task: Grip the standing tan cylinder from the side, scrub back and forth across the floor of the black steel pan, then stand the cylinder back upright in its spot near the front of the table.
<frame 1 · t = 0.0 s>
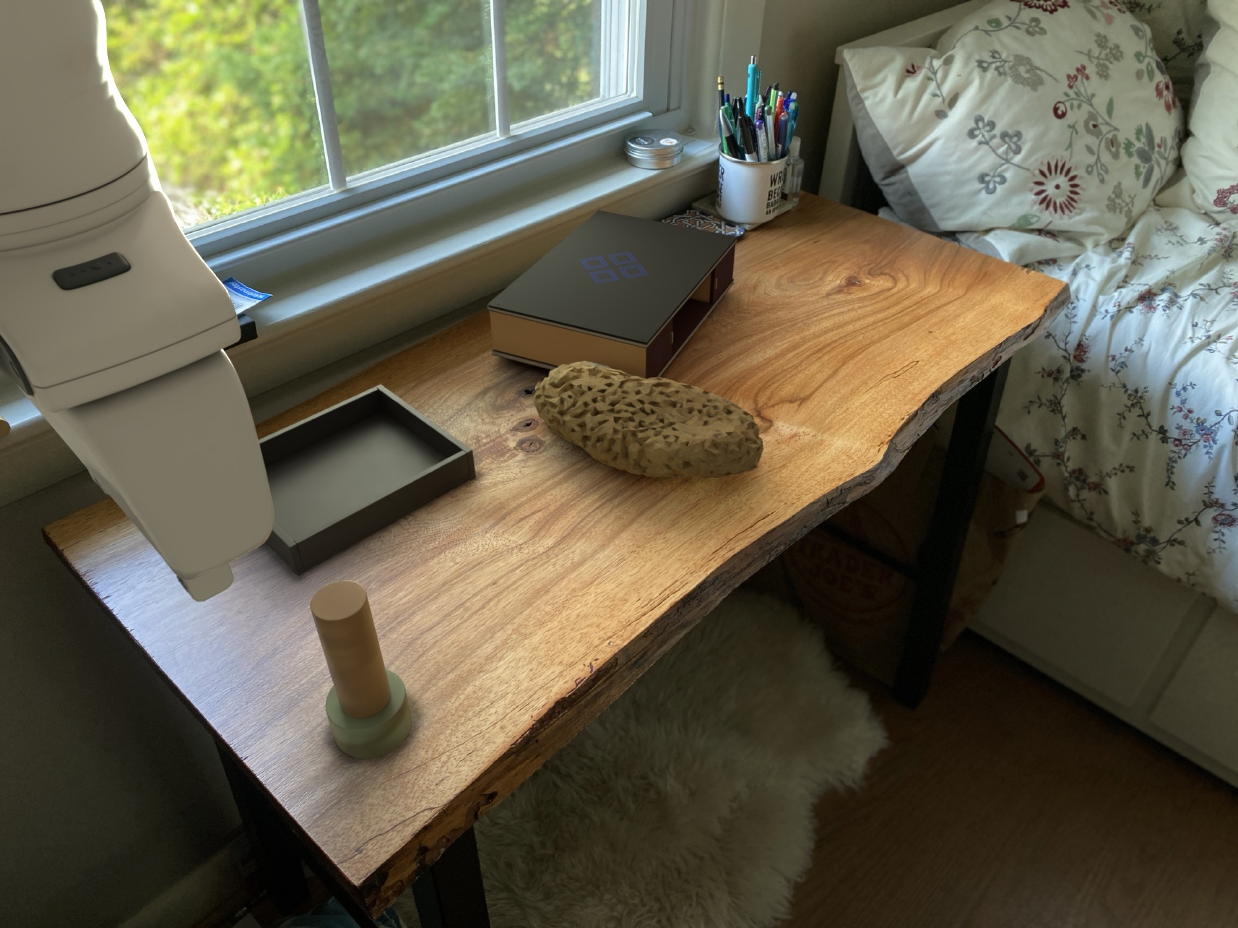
hand: (161, 531, 42), 23 cm above the table, tool pointing down, fingers open, 8 cm apart
pan: (346, 484, 81), on the table
tan cylinder: (373, 725, 61), on the table
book: (620, 325, 102), on the table
sponge: (648, 452, 84), on the table
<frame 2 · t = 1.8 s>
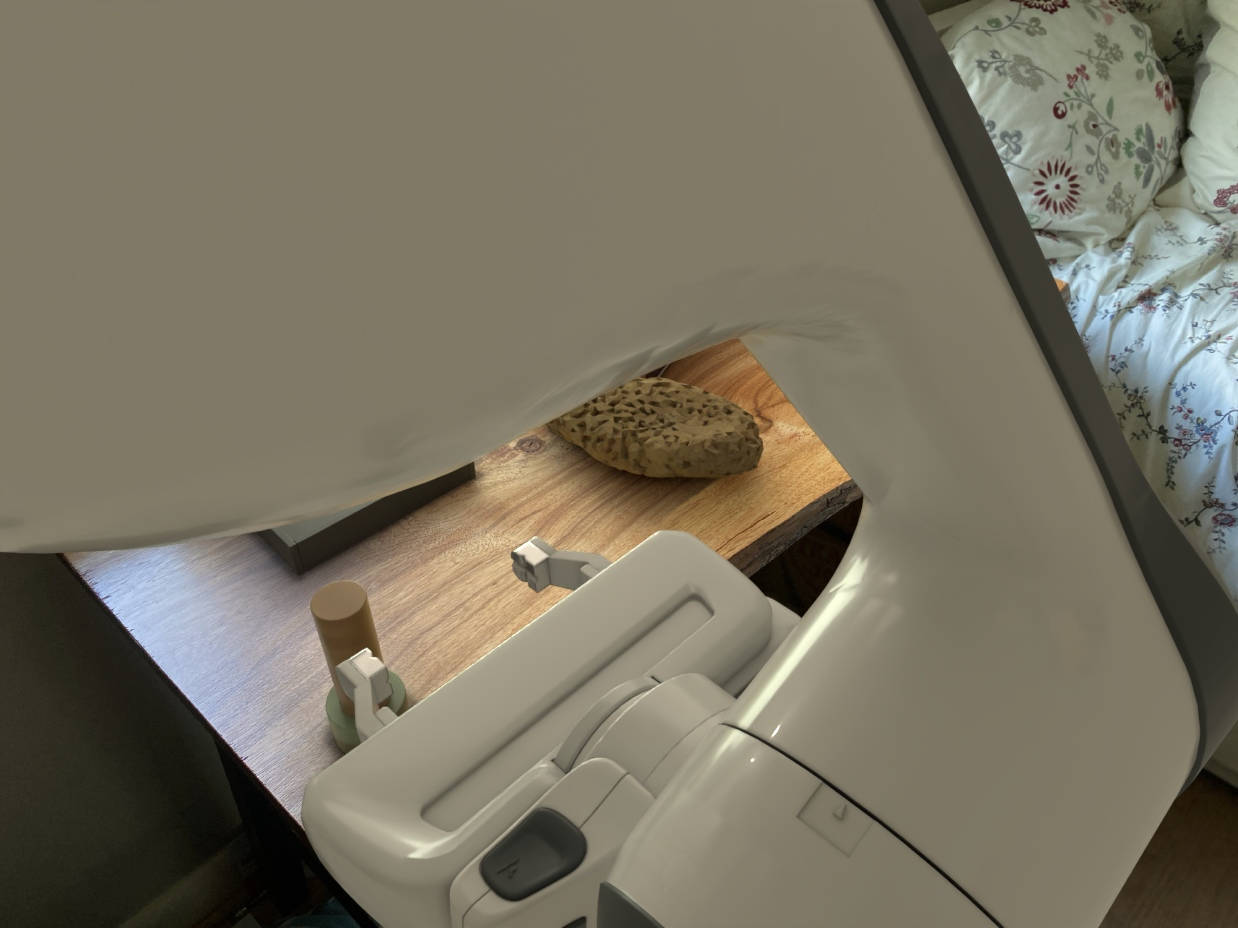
hand: (442, 606, 42), 20 cm above the table, tool horizontal, fingers open, 8 cm apart
nothing on the table moved.
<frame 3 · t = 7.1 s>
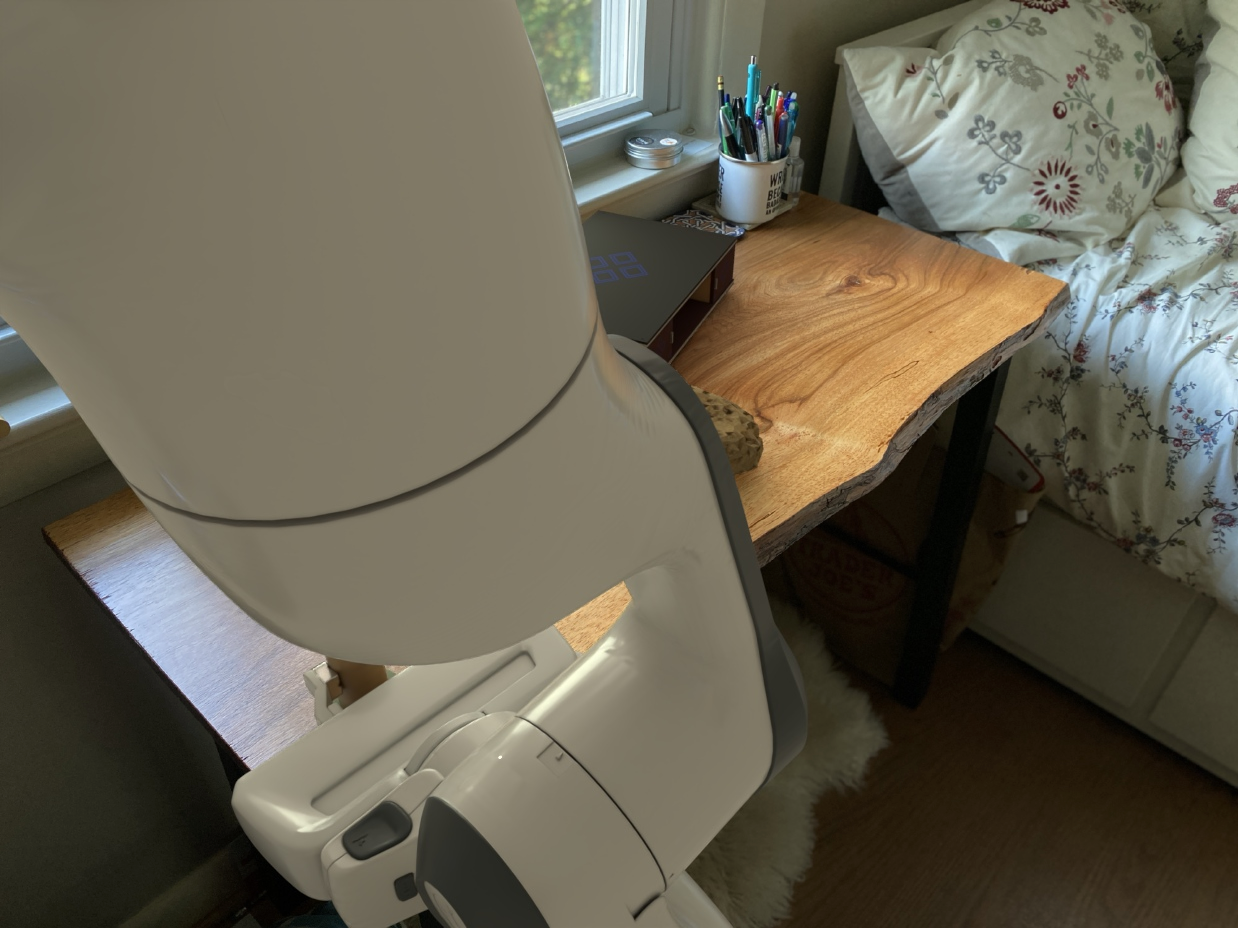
hand: (347, 653, 58), 7 cm above the table, tool horizontal, fingers closed on tan cylinder, 3 cm apart
tan cylinder: (373, 725, 61), on the table, touching gripper
everything else where it was.
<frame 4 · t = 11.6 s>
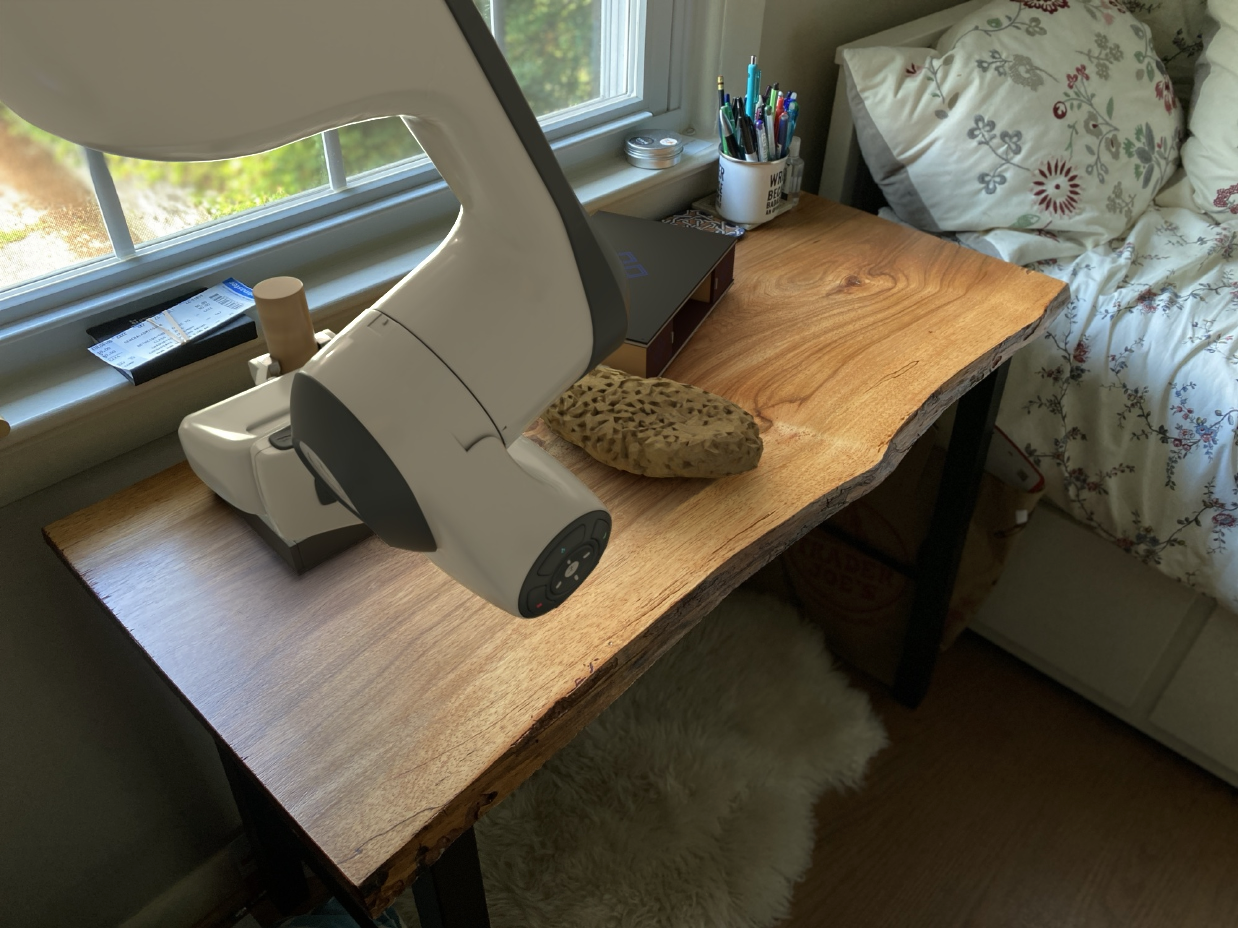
hand: (289, 353, 65), 17 cm above the table, tool horizontal, fingers closed on tan cylinder, 3 cm apart
tan cylinder: (316, 434, 69), point 11 cm above the table, touching gripper
everything else where it was.
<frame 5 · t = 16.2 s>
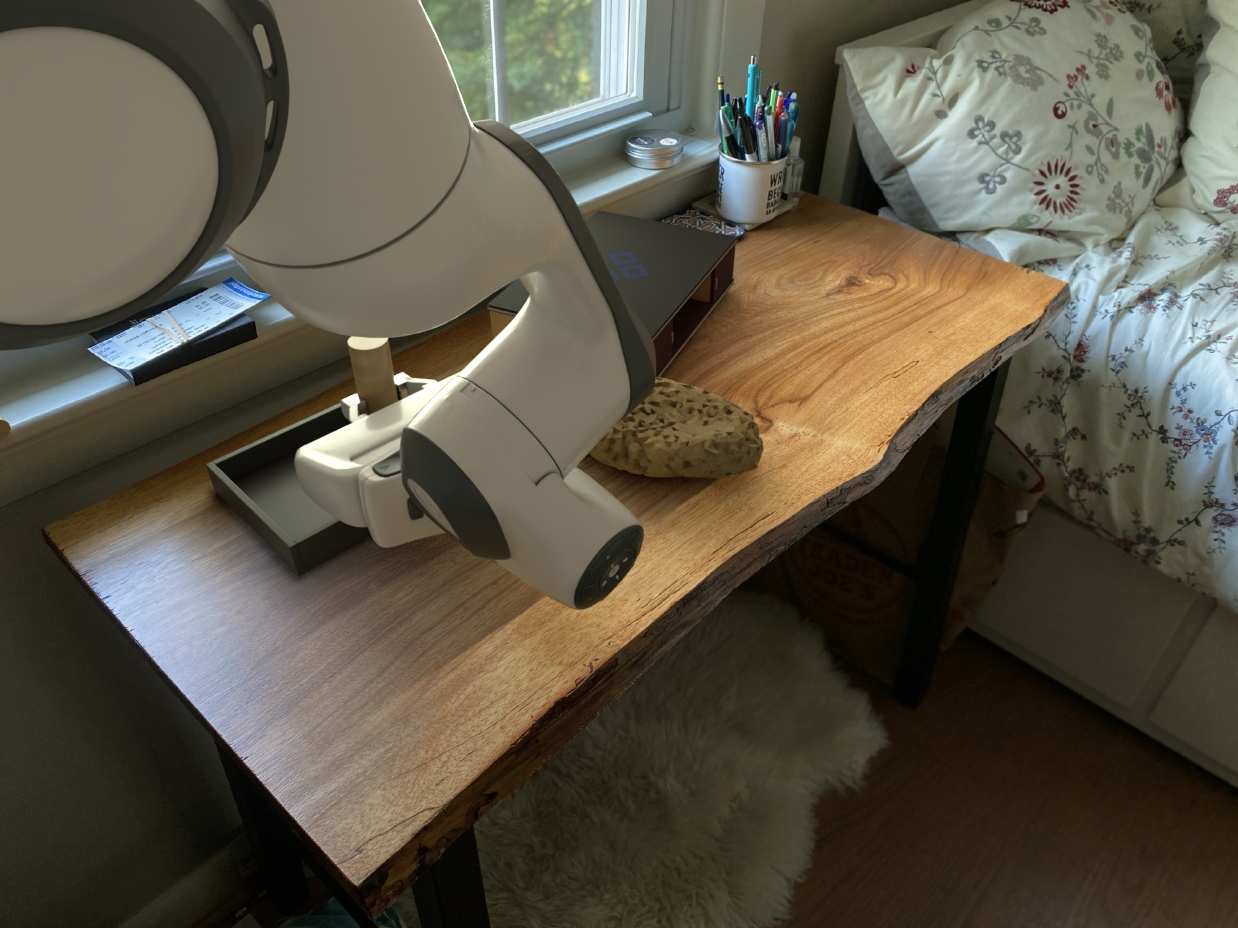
hand: (371, 393, 79), 7 cm above the table, tool horizontal, fingers closed on tan cylinder, 3 cm apart
tan cylinder: (389, 458, 82), point 1 cm above the table, touching gripper
everything else where it was.
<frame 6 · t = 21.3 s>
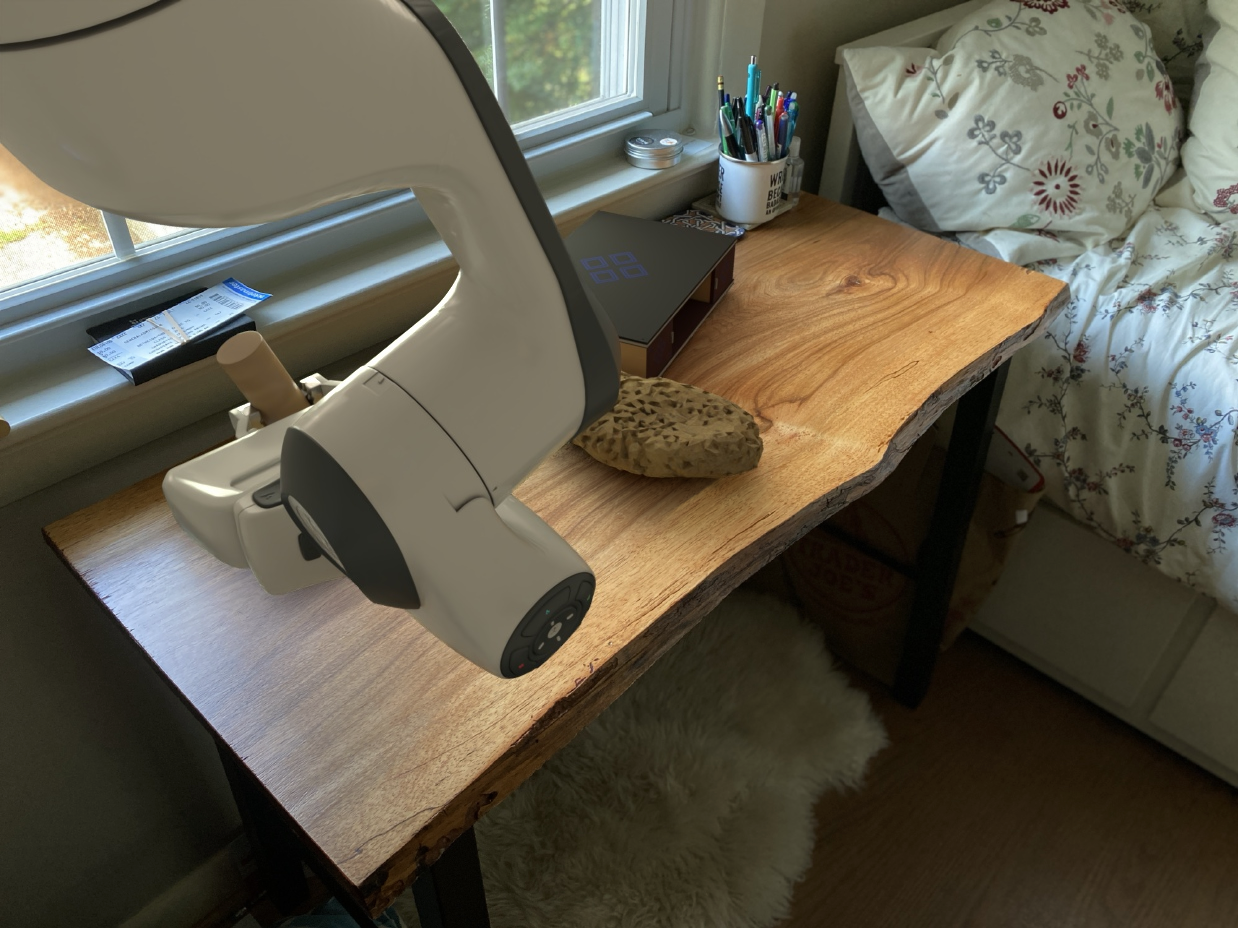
hand: (274, 400, 65), 15 cm above the table, tool horizontal, fingers closed on tan cylinder, 4 cm apart
tan cylinder: (327, 466, 69), point 8 cm above the table, tilted 17°, touching gripper
everything else where it was.
when the fingers open (7 cm above the table, at t = 25.7 s): tan cylinder stays where it is, on the table.
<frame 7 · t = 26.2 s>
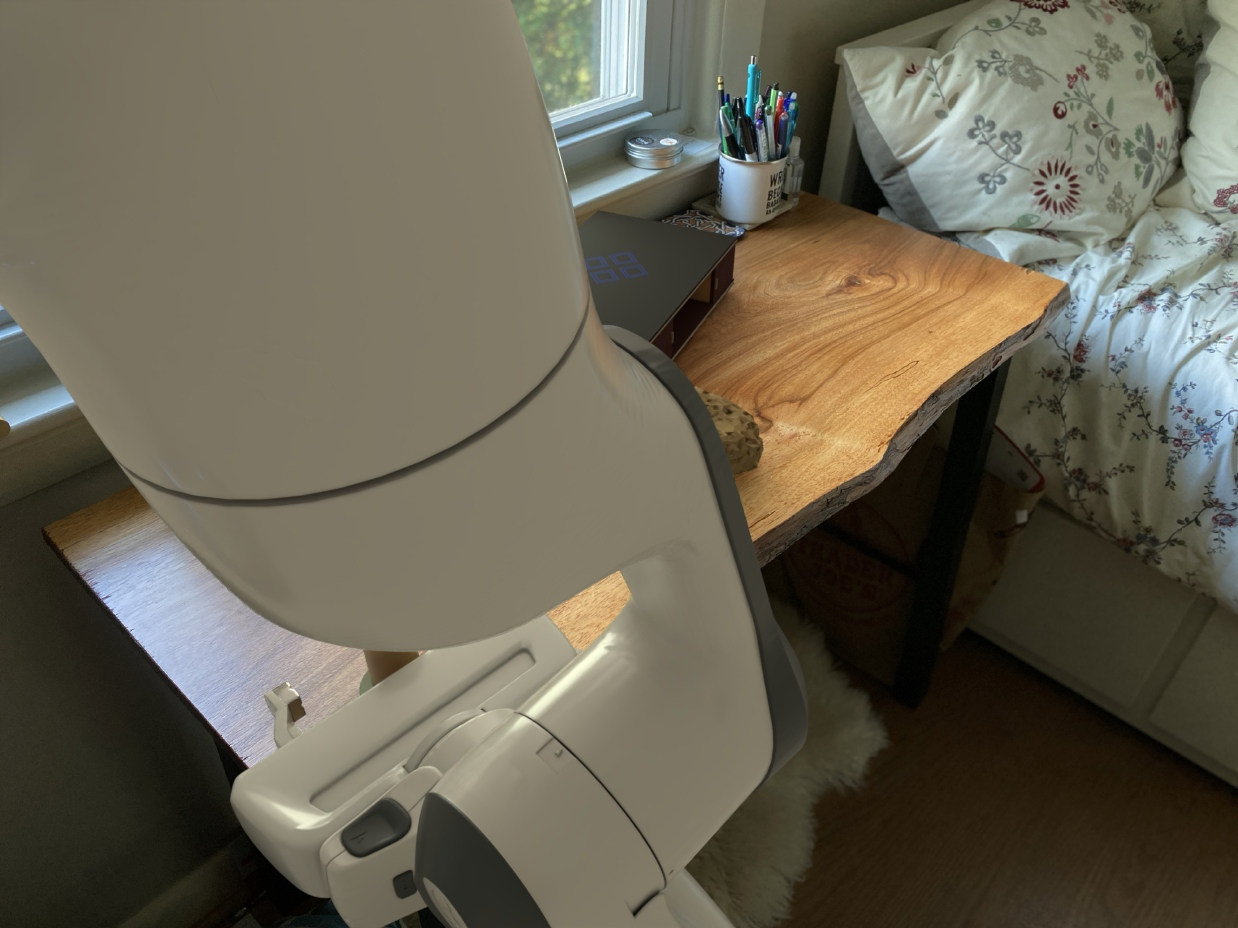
hand: (346, 650, 57), 7 cm above the table, tool horizontal, fingers open, 8 cm apart
tan cylinder: (405, 711, 62), on the table
everything else where it was.
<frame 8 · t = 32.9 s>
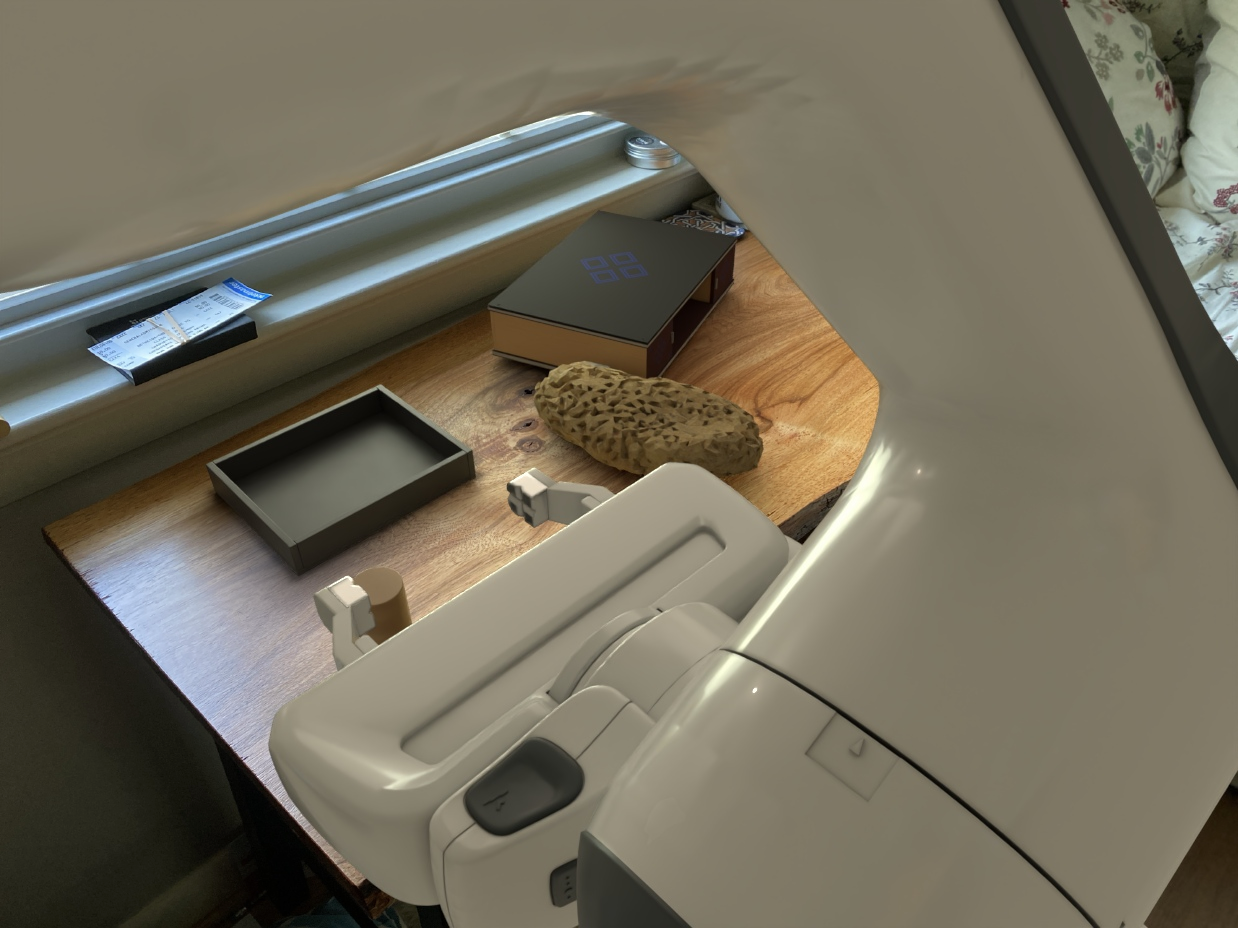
hand: (431, 537, 39), 25 cm above the table, tool horizontal, fingers open, 8 cm apart
nothing on the table moved.
at the end: tan cylinder tilted 0°; tan cylinder inside the target area (2.3 cm from its centre), on the table; tan cylinder touching table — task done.
